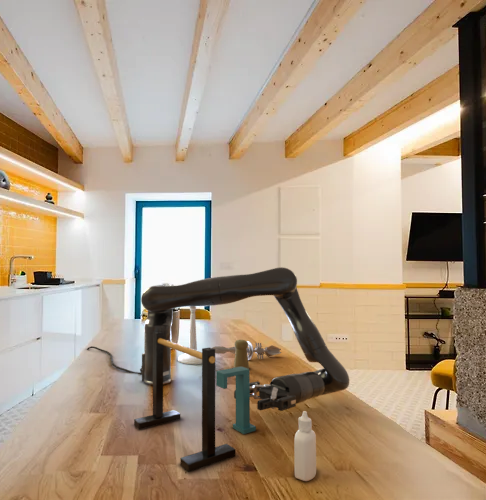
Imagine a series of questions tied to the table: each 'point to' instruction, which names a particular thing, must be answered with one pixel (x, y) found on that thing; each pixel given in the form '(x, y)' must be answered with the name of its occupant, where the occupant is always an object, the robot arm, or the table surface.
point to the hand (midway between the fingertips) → (246, 400)
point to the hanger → (239, 396)
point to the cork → (241, 354)
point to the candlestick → (191, 342)
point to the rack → (209, 450)
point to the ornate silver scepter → (250, 350)
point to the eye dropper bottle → (305, 449)
